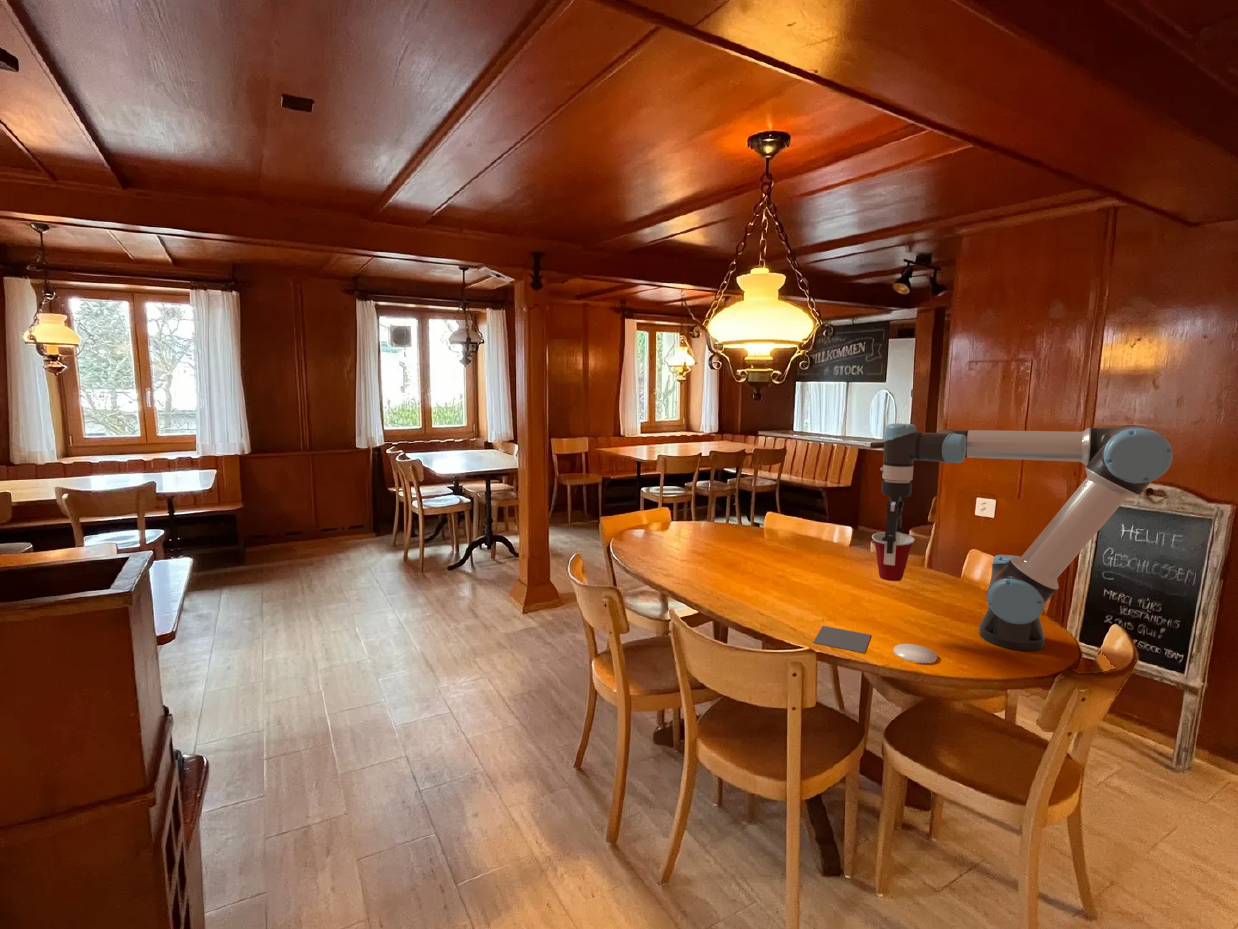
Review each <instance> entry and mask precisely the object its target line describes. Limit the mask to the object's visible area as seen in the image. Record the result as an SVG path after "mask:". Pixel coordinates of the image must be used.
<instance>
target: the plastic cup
mask: <svg viewBox="0 0 1238 929" xmlns="http://www.w3.org/2000/svg"><path fill="white" fill-rule="evenodd" d="M889 536H891V535H889ZM884 537H885V531H881V532H876V533H873V534H872V535H871V538H872V540H873V542H874V543H873V544H874V547H875V554H876V561H877V562H876V563H877V568H878V570H877V571H878V575H879V578H880V579H881V580H885V581H888V582H900V581H902V579H903V577H904V573H905V570H906V568H907V564H908V559H909V556H910V555H909V554H910V552H911V549H912V545H913V544H914V542H915V538H914V537H913V536H912V535H910V534H907V533H903V532H901V533H896V554H895V566H894V565H887V564H884V550H885V541H882V538H884Z"/></svg>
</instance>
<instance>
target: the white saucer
mask: <svg viewBox="0 0 1238 929" xmlns="http://www.w3.org/2000/svg"><path fill="white" fill-rule="evenodd" d="M894 653H895V654H894ZM893 654H894V655H895V656H896V655H897V656H899V657H900V658H902V659H904V660H903V661H905V660H907V661H906V662H908V661H909V663H911V662H916V663H926V664H925V665H928V664H927V663H932V662H934V663H935V661H936V660H937V661H938V655H937V653H936V652H935V651H934V650H932V649H930V648H928V647H927V646H924V645H923V646H922V645H918V644H914V643H899V644H897V645H895V646H894V648H893ZM897 656H896V657H897ZM899 657H898V658H899ZM900 658H899V659H900ZM902 659H901V660H902ZM937 661H936V662H937ZM916 663H915V664H916ZM932 664H933V663H932Z"/></svg>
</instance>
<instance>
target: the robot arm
mask: <svg viewBox="0 0 1238 929" xmlns="http://www.w3.org/2000/svg"><path fill="white" fill-rule="evenodd" d="M965 458H970V459H971V458H972V459H973V458H974V459H976V458H977V459H995V460H996V459H999V460H1000V459H1001V460H1019V461H1020V460H1026V461H1046V462H1047V461H1052V462H1053V461H1054V462H1074V463H1075V462H1076V463H1082V464H1083V465H1085V467H1084V469H1085V471H1086V472H1085V473H1086V478H1085V479H1084V480H1083V482H1082V483H1080V485H1079V487H1078V488H1076V490H1075V491H1074V492H1073V493H1072V495H1070V497H1069V498H1068V500H1067V501H1066V502H1065V503H1064V504H1063V506H1061V508H1060V510H1059V511H1058V512H1057V513H1056V514H1055V515H1054V517H1053V518H1052V519H1051V520H1050V521H1049V522H1048V524H1047V525H1046V527H1045V528H1043V530H1042V531H1041V533H1039V535H1038V536H1037V537H1036V538H1035V540H1034V541H1033V543H1031V544H1030V546H1028V548H1027V550H1025V552H1024V553H1023V554H1022V555H1021V556H1020V555H1013V554H1012V555H1010V554H996V555H995V556H994V557H993V559H992V562H991V566H992V567H991V575H990V582H989V585H988V588H987V591H986V600H987V605H988V606H987V610H986V611H985V614H984V616H983V618H982V620H981V622H980V623H979V629H978V634H980V635H979V637H981V638H982V639H983V638H984V640H985V641H987V642H989V643H992V644H993V645H996V644H997V645H996V646H999V645H1000V647H1002V648H1007V649H1011V650H1017V651H1038V650H1042V649H1043V648H1044V647H1045V640H1046V638H1045V632H1044V630H1043V626H1042V623H1041V619H1040V616H1041V615H1042V614H1043V611H1044V608H1045V605H1046V603H1047V602H1048V601H1049V600H1050V599H1051V597H1052V596H1053V595H1054V594H1055V593H1056V592H1057V591H1058V589H1059V588H1060V586H1059V583H1058V578H1059V577H1060V576H1061V574H1062V573H1063V572H1064V571H1065V569H1067V568H1068V566H1069V565H1070V564H1071V563H1072V562H1073V561H1074V559H1075V558H1076V557H1078V555H1079V554H1080V553H1081V552H1082V550H1083V549H1084V548H1085V547H1086V545H1087V544H1088V543H1089V542H1090V541H1091V540H1092V539H1093V537H1094V536H1095V535H1096V534H1097V533H1098V531H1099V530H1101V528H1102V527H1103V526H1104V525H1105V524H1106V522H1107V521H1108V520H1109V519H1110V518H1111V517H1112V515H1113V514H1114V513H1115V512H1116V511H1117V510H1118V509H1119V507H1121V505H1122V504H1123V503H1124V502H1125V500H1126V499H1129V498H1133V497H1135V498H1136V497H1139V496H1140V495H1141V494H1142V493H1143V492H1144V491H1145V490H1146V489H1147V487H1148V486H1149V485H1150V484H1151V483H1152V482H1153V481H1155V480H1157V479H1159V478H1160V477H1162V476H1163V475H1164V474H1165V473H1166V472H1167V471H1168V470H1170V467H1171V465H1172V463H1173V458H1174V456H1173V449H1172V445H1171V444H1170V442H1169V440H1168V439H1167V438H1166V437H1164V435H1163V434H1161V433H1159V432H1157V430H1153V429H1150V428H1149V427H1145V426H1142V425H1134V424H1129V425H1128V424H1126V425H1117V426H1107V427H1106V426H1105V427H1087V428H1086V429H1085V430H1083V431H1067V430H1066V431H1064V430H1063V431H1061V430H1060V431H1059V430H1058V431H1057V430H1055V431H1054V430H1053V431H1052V430H1050V431H1049V430H1046V431H1045V430H981V429H980V430H978V429H977V430H976V429H972V430H971V429H970V430H969V429H968V430H964V429H954V428H944V429H941V430H938V431H936V432H922V431H921V432H920V431H917V427H916V424H911V423H889V424H888V425H886V426H885V434H884V440H883V462H882V464H883V465H882V466H881V467H880V468H879V470H880V471H881V472H882V475H881V476H882V479H883V480H882V481H881V490H880V491H881V492H880V493H881V494H882V495H883V496H889V500H887V502H886V524H885V531H884V532H885V537H884V538H882V541H885V550H884V564H887V565H894V566H895V554H896V533H903V532H904V531H905V530H904V527H903V525H902V521H903V519H902V518H903V517H902V516H903V511H904V505H905V501H904V498H908V497H910V496H911V495H912V491H913V490H912V489H913V484H912V482H911V481H913V478H914V476H913V475H914V461H925V462H926V461H927V462H938V463H946V464H952V463H953V464H962V463H963V462H964V461H965ZM889 535H891V536H889Z"/></svg>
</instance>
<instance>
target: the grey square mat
mask: <svg viewBox="0 0 1238 929" xmlns="http://www.w3.org/2000/svg"><path fill="white" fill-rule="evenodd" d="M871 638H872V634H871V633H870V634H868V633H863V632H857V631H853V630H847V629H843V628H837V627H832V626H827V625H822V626H821V628H820V629H819V632H818V633H817V635H816V636H815V638H814V640H813V642H812V643H813V644H814V645H815V644H816V645H820V646H826V647H831V648H834V649H835V648H836V649H841V650H846V651H849V650H850V651H849V652H854V653H855V652H856V653H860V654H864V655H865V654H866V651H867V648H868V646H867V645H869V643H870V640H871Z"/></svg>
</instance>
